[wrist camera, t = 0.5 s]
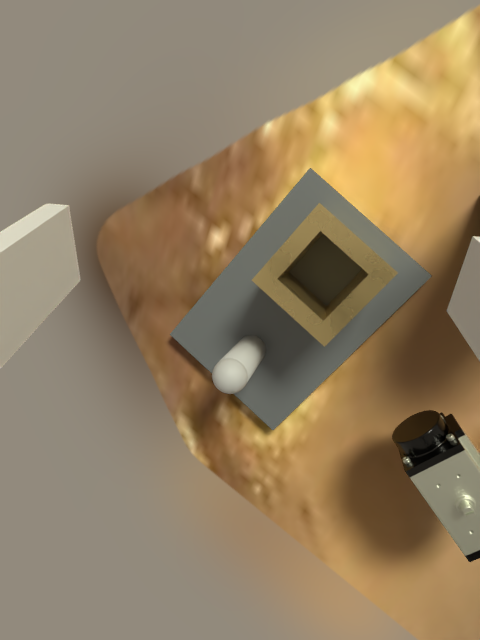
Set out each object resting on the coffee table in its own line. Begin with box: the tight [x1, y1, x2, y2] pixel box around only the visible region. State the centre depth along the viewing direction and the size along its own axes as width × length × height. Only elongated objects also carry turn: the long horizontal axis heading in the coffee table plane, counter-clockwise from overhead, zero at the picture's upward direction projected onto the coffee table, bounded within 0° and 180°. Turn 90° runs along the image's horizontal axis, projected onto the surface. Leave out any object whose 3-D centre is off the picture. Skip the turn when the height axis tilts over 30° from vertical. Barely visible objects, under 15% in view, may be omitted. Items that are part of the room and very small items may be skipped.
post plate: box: [170, 168, 431, 430], centre depth 39 cm, size 15×22×12 cm
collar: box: [252, 203, 398, 347], centre depth 38 cm, size 8×8×8 cm
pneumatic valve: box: [392, 410, 480, 562], centre depth 38 cm, size 6×12×12 cm, turn 36°
